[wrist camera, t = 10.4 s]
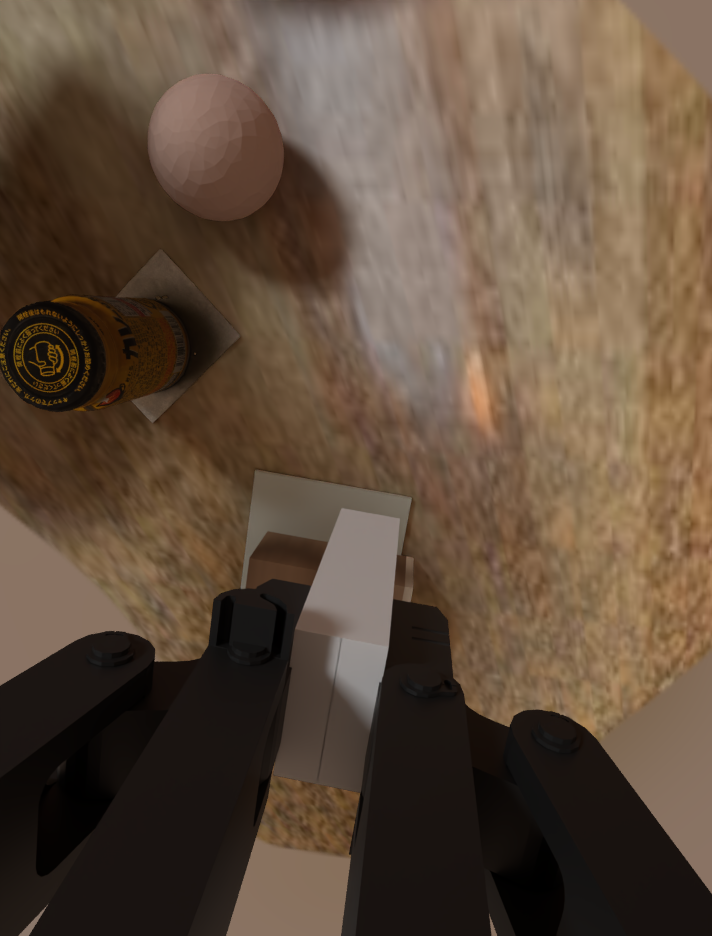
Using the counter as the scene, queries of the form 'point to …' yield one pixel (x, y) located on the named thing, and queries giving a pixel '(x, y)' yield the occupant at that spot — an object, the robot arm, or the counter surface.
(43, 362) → the condiment
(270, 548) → the block
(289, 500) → the mat
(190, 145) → the egg
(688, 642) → the counter surface
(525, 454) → the counter surface
